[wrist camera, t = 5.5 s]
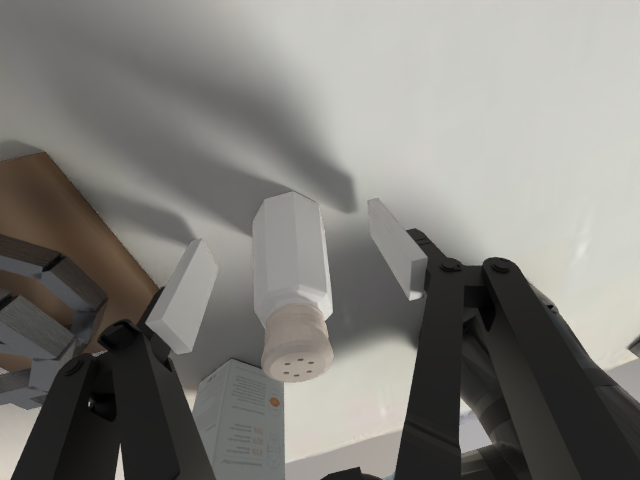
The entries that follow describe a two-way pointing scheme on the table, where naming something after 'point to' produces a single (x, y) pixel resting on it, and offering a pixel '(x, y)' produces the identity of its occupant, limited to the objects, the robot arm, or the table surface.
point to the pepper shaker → (292, 287)
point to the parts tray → (636, 349)
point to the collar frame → (43, 319)
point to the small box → (242, 422)
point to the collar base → (65, 246)
